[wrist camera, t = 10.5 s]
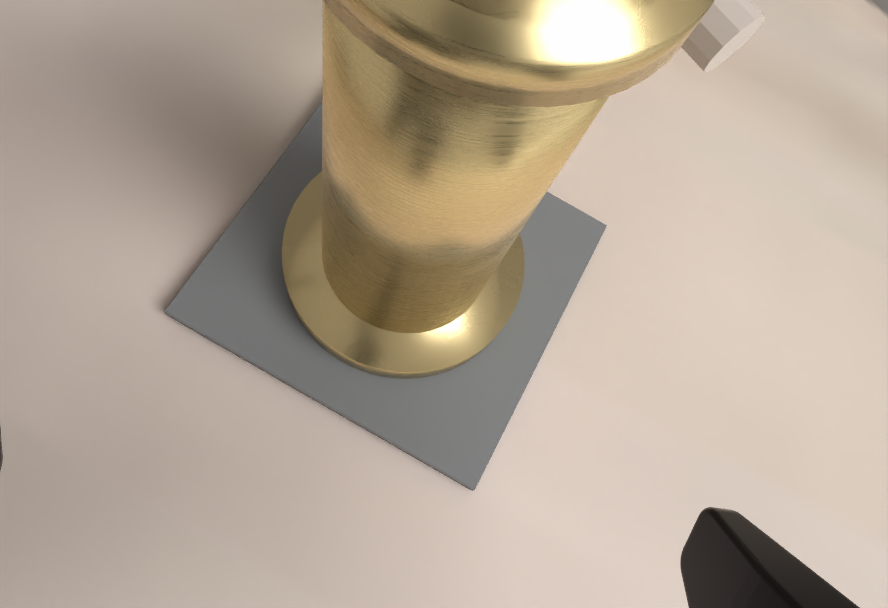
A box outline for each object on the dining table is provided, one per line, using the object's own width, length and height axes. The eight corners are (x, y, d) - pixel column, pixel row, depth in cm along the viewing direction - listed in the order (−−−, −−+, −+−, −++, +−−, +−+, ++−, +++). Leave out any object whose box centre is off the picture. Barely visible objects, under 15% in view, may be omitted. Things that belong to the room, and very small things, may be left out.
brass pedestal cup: (450, 424, 18) (673, 228, 6) (234, 299, 18) (88, -106, 7) (553, 232, 20) (851, -159, 9) (362, 122, 20) (415, -403, 9)
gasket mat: (472, 490, 18) (474, 490, 17) (167, 314, 18) (164, 311, 17) (602, 229, 21) (606, 225, 20) (341, 81, 21) (341, 75, 20)
